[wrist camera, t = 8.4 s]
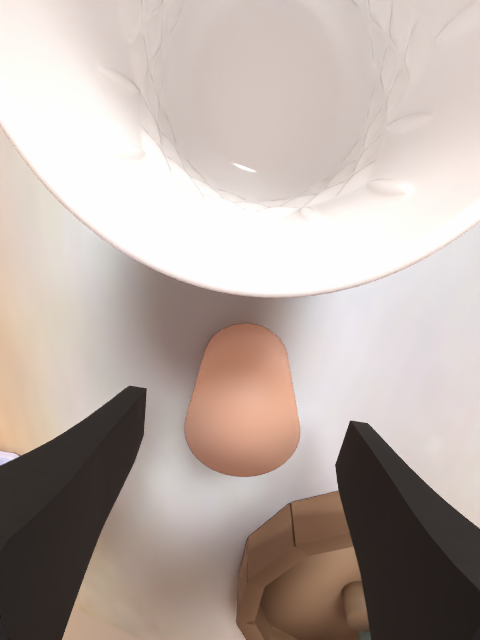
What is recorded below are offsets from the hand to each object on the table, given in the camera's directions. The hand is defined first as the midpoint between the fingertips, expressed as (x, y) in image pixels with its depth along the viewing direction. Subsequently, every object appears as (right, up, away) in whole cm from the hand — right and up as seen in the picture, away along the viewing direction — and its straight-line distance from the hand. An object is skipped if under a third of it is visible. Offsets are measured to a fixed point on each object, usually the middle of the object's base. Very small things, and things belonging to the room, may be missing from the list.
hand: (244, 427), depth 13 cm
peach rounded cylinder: (0, +2, +4) cm, 5 cm away
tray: (+7, -12, +10) cm, 17 cm away
